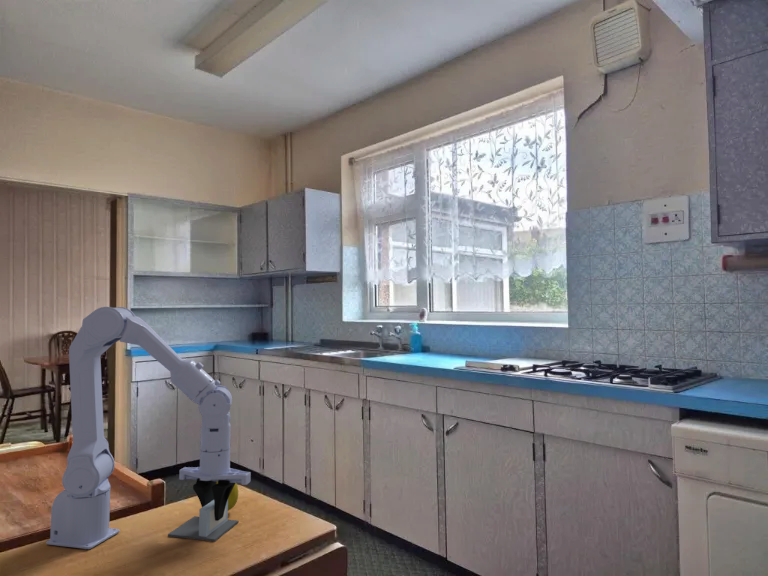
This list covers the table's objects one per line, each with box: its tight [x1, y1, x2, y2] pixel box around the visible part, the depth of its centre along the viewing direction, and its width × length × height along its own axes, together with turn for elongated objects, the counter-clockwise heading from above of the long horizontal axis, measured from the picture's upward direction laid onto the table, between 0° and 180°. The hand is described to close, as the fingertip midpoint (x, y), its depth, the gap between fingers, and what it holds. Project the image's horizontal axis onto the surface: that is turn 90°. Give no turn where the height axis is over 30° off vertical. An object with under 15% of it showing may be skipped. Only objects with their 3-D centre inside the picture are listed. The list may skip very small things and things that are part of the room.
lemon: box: [216, 481, 239, 511], centre depth 111 cm, size 6×6×8 cm
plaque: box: [198, 500, 229, 537], centre depth 103 cm, size 2×8×5 cm, turn 168°
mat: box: [167, 515, 239, 542], centre depth 103 cm, size 10×9×1 cm
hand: (213, 518), depth 102 cm, fingers closed on plaque, 2 cm apart
